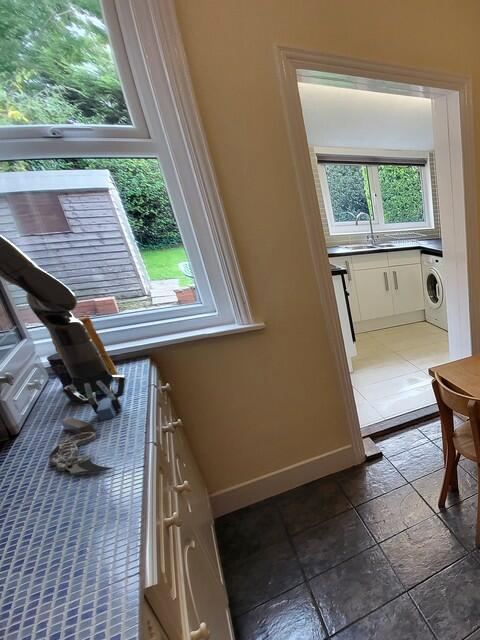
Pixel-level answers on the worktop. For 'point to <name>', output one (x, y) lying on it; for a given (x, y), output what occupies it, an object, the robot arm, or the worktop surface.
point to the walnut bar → (77, 426)
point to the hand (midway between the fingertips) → (109, 412)
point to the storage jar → (68, 377)
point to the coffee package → (97, 345)
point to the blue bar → (106, 409)
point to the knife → (68, 461)
